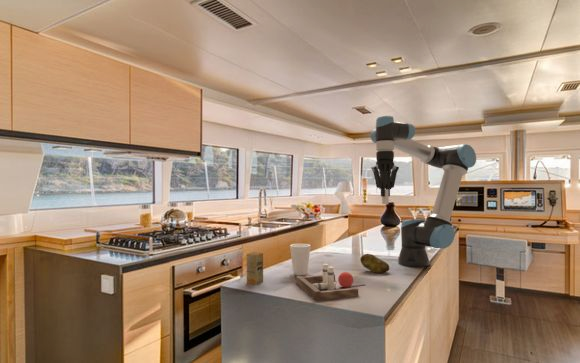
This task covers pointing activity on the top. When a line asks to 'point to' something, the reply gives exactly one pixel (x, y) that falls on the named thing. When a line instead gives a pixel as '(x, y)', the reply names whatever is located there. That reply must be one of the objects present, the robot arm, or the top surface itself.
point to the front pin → (322, 285)
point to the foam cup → (300, 258)
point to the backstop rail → (320, 295)
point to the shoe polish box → (254, 268)
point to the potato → (374, 263)
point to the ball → (345, 279)
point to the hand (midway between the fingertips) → (385, 204)
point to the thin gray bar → (357, 285)
